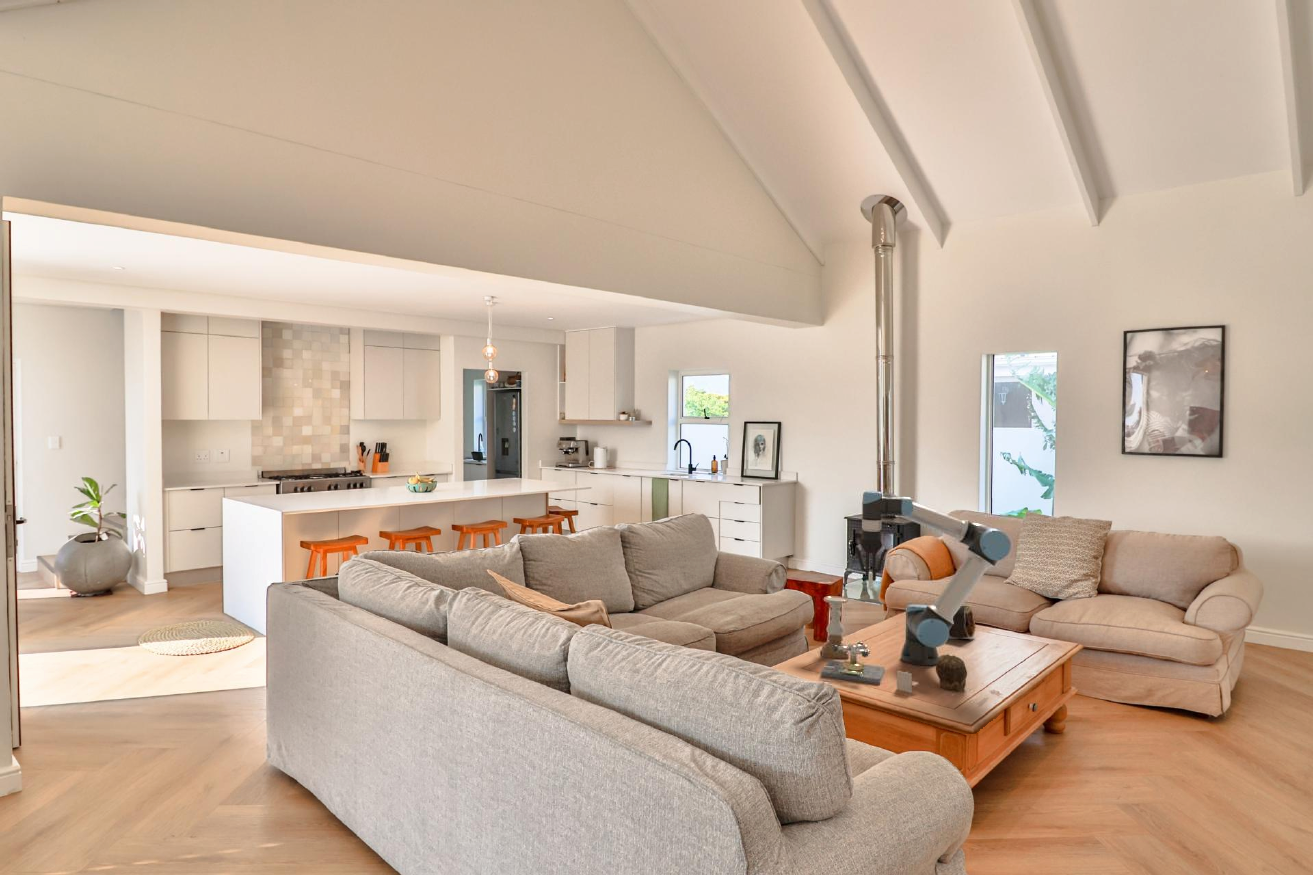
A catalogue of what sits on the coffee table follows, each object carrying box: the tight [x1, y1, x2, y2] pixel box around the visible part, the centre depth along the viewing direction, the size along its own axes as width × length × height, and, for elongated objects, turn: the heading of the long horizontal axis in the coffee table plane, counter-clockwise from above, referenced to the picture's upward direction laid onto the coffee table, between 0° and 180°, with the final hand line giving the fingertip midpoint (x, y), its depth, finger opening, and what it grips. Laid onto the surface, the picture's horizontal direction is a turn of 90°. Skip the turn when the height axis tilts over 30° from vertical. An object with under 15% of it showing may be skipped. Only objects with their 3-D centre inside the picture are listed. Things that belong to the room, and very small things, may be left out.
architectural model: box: [896, 670, 920, 694], centre depth 290 cm, size 3×7×7 cm, turn 47°
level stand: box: [820, 659, 885, 686], centre depth 308 cm, size 22×16×4 cm
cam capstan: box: [832, 641, 871, 673], centre depth 308 cm, size 14×14×9 cm
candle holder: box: [821, 595, 850, 660], centre depth 334 cm, size 11×11×24 cm
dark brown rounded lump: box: [935, 653, 968, 693], centre depth 293 cm, size 11×11×12 cm
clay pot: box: [948, 605, 976, 640], centre depth 366 cm, size 15×15×25 cm
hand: (870, 588), depth 314 cm, fingers closed
